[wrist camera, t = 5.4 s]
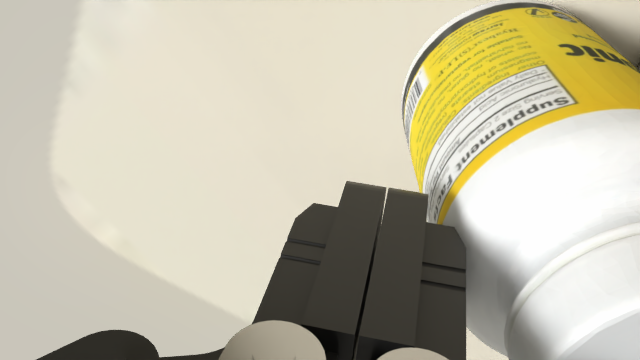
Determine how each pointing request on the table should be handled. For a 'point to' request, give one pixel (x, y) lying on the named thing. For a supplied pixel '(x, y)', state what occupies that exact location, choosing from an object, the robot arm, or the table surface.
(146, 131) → the table surface
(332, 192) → the table surface
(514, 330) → the supplement bottle
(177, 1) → the table surface
